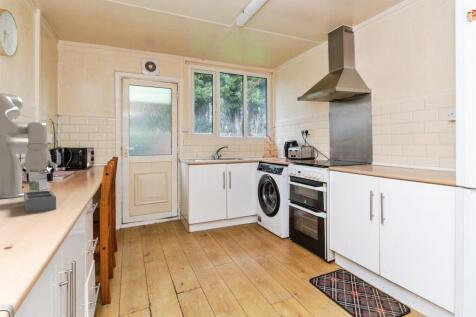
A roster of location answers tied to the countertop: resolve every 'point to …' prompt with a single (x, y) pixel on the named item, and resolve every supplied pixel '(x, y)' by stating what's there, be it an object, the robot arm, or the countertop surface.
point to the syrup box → (38, 181)
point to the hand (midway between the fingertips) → (40, 181)
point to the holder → (39, 201)
